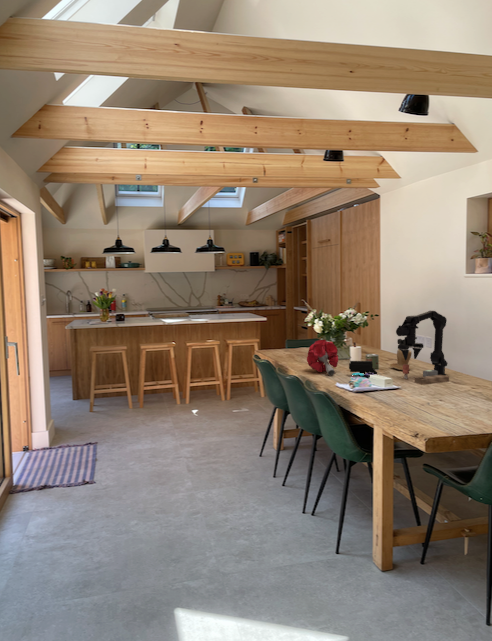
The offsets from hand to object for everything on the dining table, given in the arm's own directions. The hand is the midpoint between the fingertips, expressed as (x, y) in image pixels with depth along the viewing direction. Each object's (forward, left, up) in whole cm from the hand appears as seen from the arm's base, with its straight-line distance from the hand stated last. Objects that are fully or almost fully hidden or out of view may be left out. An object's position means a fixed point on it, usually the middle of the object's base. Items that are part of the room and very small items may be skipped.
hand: (410, 359), depth 330 cm
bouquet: (+39, -44, -13) cm, 60 cm away
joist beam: (-5, +14, -13) cm, 20 cm away
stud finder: (-12, +4, -13) cm, 18 cm away
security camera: (+22, -21, -13) cm, 33 cm away
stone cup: (-16, -29, -13) cm, 36 cm away
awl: (+2, -1, -13) cm, 13 cm away
